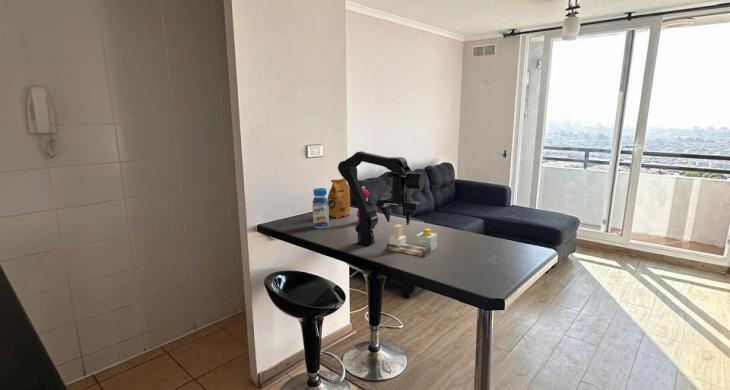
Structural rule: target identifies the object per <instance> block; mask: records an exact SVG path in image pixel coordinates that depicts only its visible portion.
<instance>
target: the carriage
mask: <svg viewBox="0 0 730 390" xmlns="http://www.w3.org/2000/svg"><path fill="white" fill-rule="evenodd" d="M392 227H393V228H392V230H393V234H392V235H391V237H389V242H390V244H392V245H397V246H401V245H403V244H407V235H404V225H403V224H399V223H398V224H395V225H393V226H392Z"/></svg>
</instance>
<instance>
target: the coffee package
mask: <svg viewBox="0 0 730 390" xmlns="http://www.w3.org/2000/svg"><path fill="white" fill-rule="evenodd" d="M330 181H331V183H332V184H331V187H330V189H329V192H328V193H327V194H328V195H327V199H328V206H329V209H328V210H329V216H332V217H337V218H336V219H339V218H338V217H341V218H343V217H342V216H346V217H348V216H350V215H351V197H350V196H351V190H350V187H349V185H348V182H347V181H346V180H345V179H344V178H343V177H342V178H340V179H331V180H330ZM349 214H350V215H349ZM347 215H348V216H347ZM332 217H331V218H332Z"/></svg>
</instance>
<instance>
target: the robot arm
mask: <svg viewBox="0 0 730 390" xmlns="http://www.w3.org/2000/svg"><path fill="white" fill-rule="evenodd" d="M361 163H367V164H372V165H376V166H380V167H383V168H385V169H387V170H388V171H390V172H389V173H388V174H386V176H387V177H388V178H391V190H389V193H390V194H391V199H390V198H389V197H381V198H378V199H377V200H376V202H375V203H376V205H375V206H376V207H378V208H379V209H380V210H381V212H382V213H383V215H384V217H385V220H386V222H387V223H390V221H391V220H390V219H391V210H390V209H391V207H392V206H395V207H404V208H406V209H407V210H405V214H406V215H405V217H406V219H405V220H406V221H405V222H406V226H409V225H410V223H411V219H412V217H413V215H414V213H415V212H417V211H418V210H420V209H422V204H421V201H415V200H412V201H411V199H412V194H410V193H409V192H408V191H407V189H410V190H419V191H421V190H423V188H424V185H425V180H424V176H423V173H422V172H413V170H412V169H411V168H410V166H409V163H408V161H407V159H406V158H404V157H401V156H399V157H398V156H394V157H393V156H392V157H391V156H389V157H387V156H383V155H379V154H374V153H369V152H365V151H361V150H360V151H357V152H355V153H354V154H353V155H351V156H350V157H348V158H346V159H345V160H342V161H340V162H339V163H338V164H337V165H338V166H337V170H338V172H339V174H340V175H341V177H342V178H344V179H345V180H346V181H347V184H348V187H349V191H350V193H351V195H352V197H353V200H354V201H355V204H356V206H357V210H358V209H359V218H358V219H359V221H360V223H358V224H357V225H356V226H355V227H354V228H355V232H356V233H357V242H355V244H356V245H361V246H363V247H365V246H366V247H369V246H371V245H372V244H374V243H375V244H376V241H375V233H374V229H375V227H376V225H377V224H379V223H378V222H379V216H378V214H377V211H376V209H375V208H374V209H372V208H371V207H370V206H369V204H368V201H366V198H365V196H364V193H363V191H362V186H361V184H360V181H359V178H358V166H359V165H360V164H361ZM406 188H407V189H406Z"/></svg>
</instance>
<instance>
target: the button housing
mask: <svg viewBox="0 0 730 390" xmlns="http://www.w3.org/2000/svg"><path fill="white" fill-rule="evenodd" d="M415 246H419V247H425V248H427V247H428V246H429V247H431V252H432V251H433V250H435V249H436V248H438V233H434V232H430V236H423V230H421V232H419V233H418V234H416V235H415Z"/></svg>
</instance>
